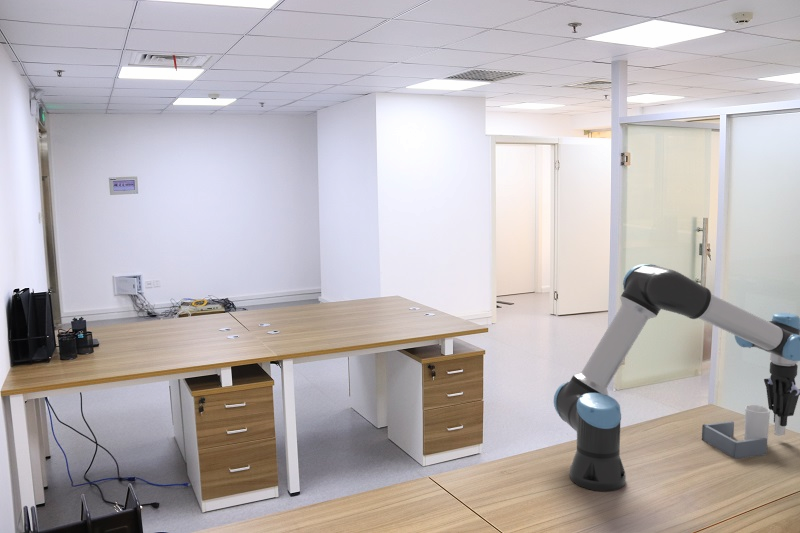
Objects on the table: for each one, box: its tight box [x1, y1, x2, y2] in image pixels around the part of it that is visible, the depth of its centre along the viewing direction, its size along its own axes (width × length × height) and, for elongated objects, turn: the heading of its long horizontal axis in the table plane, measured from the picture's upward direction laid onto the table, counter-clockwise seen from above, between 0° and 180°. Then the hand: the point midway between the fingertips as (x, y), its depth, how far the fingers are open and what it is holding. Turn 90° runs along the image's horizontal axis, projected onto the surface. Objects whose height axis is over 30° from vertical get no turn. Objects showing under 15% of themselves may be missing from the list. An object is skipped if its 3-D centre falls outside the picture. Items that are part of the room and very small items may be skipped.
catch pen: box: [701, 420, 768, 460], centre depth 207 cm, size 11×15×5 cm
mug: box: [743, 404, 771, 441], centre depth 208 cm, size 10×7×12 cm, turn 144°
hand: (779, 434), depth 210 cm, fingers closed
